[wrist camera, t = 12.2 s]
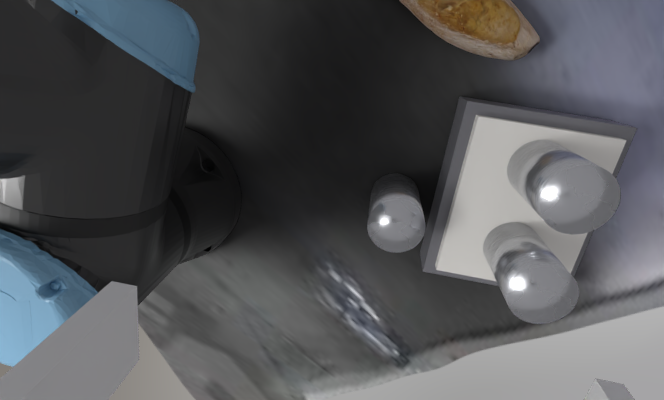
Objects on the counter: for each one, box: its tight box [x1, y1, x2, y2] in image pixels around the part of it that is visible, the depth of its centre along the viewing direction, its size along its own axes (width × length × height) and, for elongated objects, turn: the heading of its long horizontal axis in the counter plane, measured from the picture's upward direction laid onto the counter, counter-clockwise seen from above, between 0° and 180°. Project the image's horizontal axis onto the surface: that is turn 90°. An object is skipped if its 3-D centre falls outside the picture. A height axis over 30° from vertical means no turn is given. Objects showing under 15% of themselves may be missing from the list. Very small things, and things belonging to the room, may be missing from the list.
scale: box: [420, 96, 637, 286], centre depth 38 cm, size 15×17×5 cm
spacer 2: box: [507, 140, 621, 235], centre depth 30 cm, size 5×5×8 cm
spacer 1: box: [367, 173, 426, 253], centre depth 38 cm, size 5×5×8 cm
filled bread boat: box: [399, 0, 540, 61], centre depth 33 cm, size 5×14×4 cm, turn 61°
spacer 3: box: [483, 222, 579, 324], centre depth 33 cm, size 5×5×8 cm
